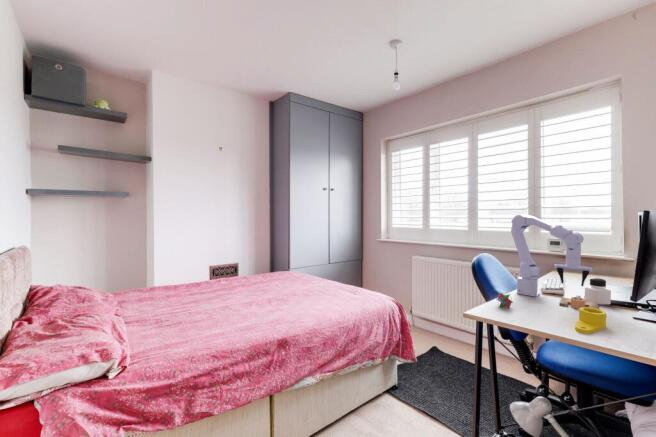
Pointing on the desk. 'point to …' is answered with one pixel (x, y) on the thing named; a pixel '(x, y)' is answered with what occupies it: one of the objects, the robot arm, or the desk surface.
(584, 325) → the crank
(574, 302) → the hollow octagonal tube
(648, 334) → the desk surface
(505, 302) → the geometric puzzle
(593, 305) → the wooden u-shaped block
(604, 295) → the medicine bottle
